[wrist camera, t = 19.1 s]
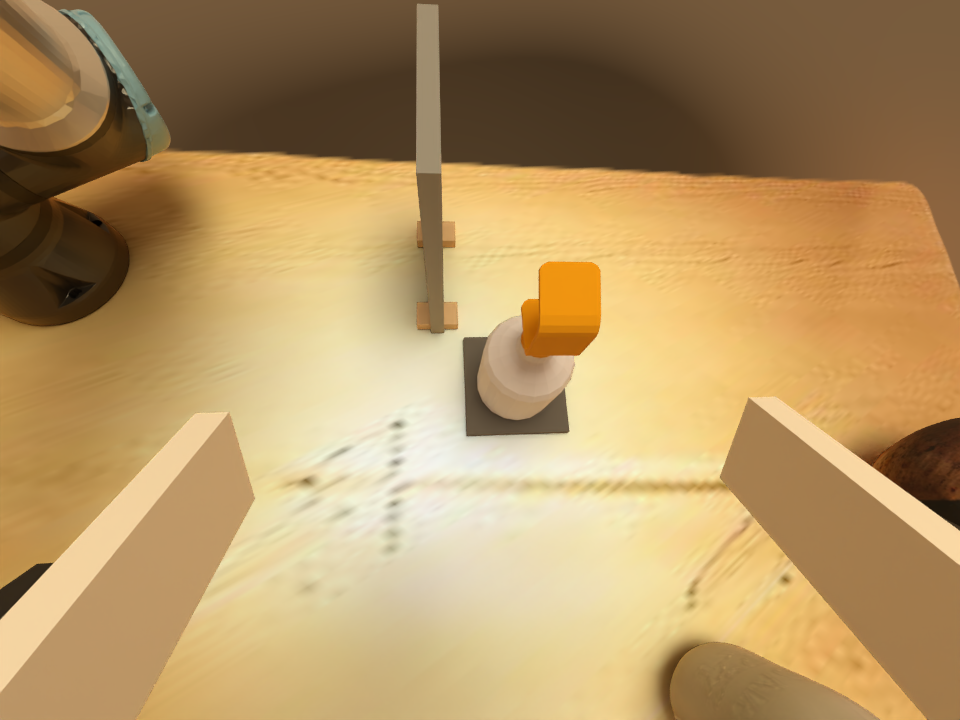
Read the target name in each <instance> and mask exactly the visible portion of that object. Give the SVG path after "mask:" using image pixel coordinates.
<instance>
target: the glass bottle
mask: <svg viewBox="0 0 960 720" xmlns="http://www.w3.org/2000/svg"><path fill="white" fill-rule="evenodd" d="M670 701H671V705H672V709H673V712H674V716H675V719H676V720H880V719H878V718H877V717H876V716H875V715H873V714H872V713H871V712H869V711H868V710H866V709H865V708H863V707H862V706H860V705H859V704H857V703H855V702H854V701H852V700H850V699H849V698H847V697H845V696H843V695H842V694H840V693H838V692H836V691H834V690H832V689H830V688H828V687H826V686H824V685H822V684H819V683H817V682H815V681H813V680H810V679H808V678H806V677H804V676H802V675H799V674H797V673H795V672H792V671H790V670H788V669H786V668H783V667H781V666H779V665H777V664H775V663H773V662H771V661H769V660H767V659H765V658H763V657H761V656H759V655H757V654H755V653H753V652H750V651H748V650H746V649H744V648H741V647H738V646H736V645H732V644H728V643H720V642H714V643H706V644H702V645H699V646H697V647H695V648H693V649H691V650H690V651H688V652H687V653H686V654H685V655H684V656H683V657H682V658H681V660H680V661H679V663H678V664H677V666H676V668H675V670H674V673H673V676H672V679H671V683H670Z"/></svg>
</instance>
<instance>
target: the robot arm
mask: <svg viewBox="0 0 960 720" xmlns="http://www.w3.org/2000/svg"><path fill="white" fill-rule="evenodd" d="M170 140H171V138H170V133H169V131H168V128H167V127H166V124H165V123H164V121H163V119H162V117H161V116H160V114H159V112H158V111H157V109H156V107H155V106H154V105H153V104H152V103H151V99H150V98H149V96H148V94H147V92H146V91H145V89H144V87H143V86H142V84H141V83H140V81H139V79H138V78H137V76H136V75H135V73H134V72H133V70H132V69H131V67H130V66H129V64H128V63H127V61H126V60H125V58H124V57H123V55H122V54H121V52H120V51H119V49H118V48H117V46H116V45H115V44H114V42H113V41H112V39H111V38H110V37H109V35H108V34H107V32H106V31H105V30H104V28H103V27H102V26H101V24H99V22H98V21H97V20H96V19H95V18H94V17H93V16H92V15H91V14H90V13H88V12H86V11H84V10H78V9H77V10H72V11H69V10H65V9H62V10H59V11H57V10H56V9H54V8H53V7H51V6H49V5H48V4H46V3H44V2H43V1H40V0H0V314H2V315H4V316H7V317H9V318H12V319H14V320H16V321H19V322H22V323H25V324H29V325H37V326H51V325H58V324H63V323H67V322H71V321H74V320H77V319H79V318H82V317H84V316H86V315H88V314H90V313H91V312H93V311H95V310H96V309H98V308H99V307H100V306H102V305H103V304H104V303H105V302H107V301H108V300H109V299H110V298H111V297H112V296H113V295H114V293H115V292H116V291H117V290H118V288H119V287H120V285H121V284H122V282H123V280H124V278H125V276H126V273H127V270H128V265H129V252H128V248H127V245H126V242H125V241H124V239H123V237H122V236H121V235H120V234H119V233H118V231H116V230H115V229H114V228H113V227H112V226H110V225H109V224H108V223H107V222H105V221H104V220H103V219H101V218H100V217H98V216H97V215H95V214H93V213H91V212H89V211H86V210H84V209H81V208H79V207H77V206H74V205H72V204H69V203H67V202H64V201H62V200H59V199H57V198H54V196H56V195H59V194H61V193H63V192H66V191H68V190H71V189H73V188H76V187H78V186H81V185H83V184H86V183H88V182H90V181H93V180H95V179H98V178H100V177H103V176H105V175H108V174H110V173H112V172H115V171H117V170H120V169H122V168H125V167H127V166H130V165H132V164H135V163H137V162H144V161H148V160H150V159H151V157H152V156H153V155H155V154H157V153H159V152H161V151H163V150H165V149H166V148H168V146H169V144H170ZM720 479H721V480H722V481H723V482H724V483H725V484H726V486H727V487H728V488H729V489H730V490H731V491H732V493H733V494H734V495H735V496H736V497H737V498H738V499H739V501H740V502H741V503H742V504H743V505H744V506H745V508H746V509H747V510H748V511H749V512H750V513H751V515H752V516H753V517H754V518H755V519H756V520H757V522H758V523H759V524H760V525H761V526H762V527H763V529H764V530H765V531H766V532H767V533H768V534H769V536H770V537H771V538H772V539H773V540H774V541H775V543H776V544H777V545H778V546H779V547H780V548H781V550H782V551H783V552H784V553H785V554H786V555H787V557H788V558H789V559H790V560H791V561H792V562H793V564H794V565H795V566H796V567H797V568H798V569H799V571H800V572H801V573H802V574H803V575H804V576H805V578H806V579H807V580H808V581H809V582H810V583H811V585H812V586H813V587H814V588H815V589H816V590H817V592H818V593H819V594H820V595H821V596H822V597H823V598H824V600H825V601H826V602H827V603H828V604H829V605H830V607H831V608H832V609H833V610H834V611H835V612H836V614H837V615H838V616H839V617H840V618H841V619H842V621H843V622H844V623H845V624H846V625H847V626H848V628H849V629H850V630H851V631H852V632H853V633H854V635H855V636H856V637H857V638H858V639H859V640H860V642H861V643H862V644H863V645H864V646H865V647H866V649H867V650H868V651H869V652H870V653H871V654H872V656H873V657H874V658H875V659H876V660H877V661H878V663H879V664H880V665H881V666H882V667H883V668H884V670H885V671H886V672H887V673H888V674H889V675H890V677H891V678H892V679H893V680H894V681H895V682H896V684H897V685H898V686H899V687H900V688H901V689H902V691H903V692H904V693H905V694H906V695H907V696H908V698H909V699H910V700H911V701H912V702H913V703H914V704H915V706H916V707H917V708H918V709H919V710H920V711H921V713H922V714H923V715H924V716H925V717H926V718H927V720H960V526H958V525H956V524H954V523H952V522H950V521H948V520H947V519H945V518H943V517H941V516H939V515H937V514H936V513H935V512H933V511H932V510H931V509H929V508H928V507H926V506H925V505H924V504H922V503H921V502H920V501H918V500H917V499H915V498H914V497H913V496H911V495H910V494H909V493H907V492H906V491H904V490H903V489H902V488H900V487H899V486H898V485H896V484H895V483H893V482H892V481H891V480H889V479H888V478H887V477H885V476H884V475H883V474H881V473H880V472H878V471H877V470H876V469H874V468H873V467H872V466H870V465H869V464H867V463H866V462H865V461H863V460H862V459H861V458H859V457H858V456H856V455H855V454H854V453H852V452H851V451H850V450H848V449H847V448H845V447H844V446H843V445H841V444H840V443H839V442H837V441H836V440H834V439H833V438H832V437H830V436H829V435H828V434H826V433H825V432H823V431H822V430H821V429H819V428H818V427H817V426H815V425H814V424H813V423H811V422H810V421H808V420H807V419H806V418H804V417H803V416H802V415H800V414H799V413H797V412H796V411H795V410H793V409H792V408H791V407H789V406H788V405H786V404H785V403H784V402H782V401H781V400H780V399H778V398H777V397H749V398H748V401H747V404H746V406H745V409H744V412H743V415H742V417H741V420H740V423H739V426H738V428H737V431H736V434H735V437H734V439H733V442H732V445H731V448H730V450H729V453H728V456H727V459H726V461H725V464H724V467H723V470H722V472H721V475H720ZM254 499H255V497H254V494H253V490H252V487H251V484H250V480H249V477H248V474H247V470H246V467H245V463H244V460H243V457H242V453H241V450H240V446H239V443H238V440H237V436H236V433H235V430H234V426H233V423H232V419H231V416H230V413H229V412H211V413H195V414H194V415H193V416H192V417H191V418H190V419H189V420H188V421H187V422H186V423H185V424H184V425H183V427H182V428H181V429H180V430H179V431H178V432H177V433H176V434H175V435H174V436H173V437H172V438H171V439H170V440H169V441H168V442H167V444H166V445H165V446H164V447H163V448H162V449H161V450H160V451H159V452H158V453H157V454H156V455H155V456H154V457H153V458H152V459H151V460H150V462H149V463H148V464H147V465H146V466H145V467H144V468H143V469H142V470H141V471H140V472H139V473H138V474H137V475H136V476H135V477H134V479H133V480H132V481H131V482H130V483H129V484H128V485H127V486H126V487H125V488H124V489H123V490H122V491H121V492H120V493H119V494H118V495H117V497H116V498H115V499H114V500H113V501H112V502H111V503H110V504H109V505H108V506H107V507H106V508H105V509H104V510H103V511H102V512H101V514H100V515H99V516H98V517H97V518H96V519H95V520H94V521H93V522H92V523H91V524H90V525H89V526H88V527H87V528H86V529H85V530H84V532H83V533H82V534H81V535H80V536H79V537H78V538H77V539H76V540H75V541H74V542H73V543H72V544H71V545H70V546H69V547H68V549H67V550H66V551H65V552H64V553H63V554H62V555H61V556H60V557H59V558H58V559H57V560H56V561H55V562H54V563H45V564H36V565H35V566H33V567H32V568H30V569H29V570H28V571H26V572H25V573H23V574H22V575H20V576H19V577H18V578H16V579H15V580H13V581H12V582H10V583H9V584H7V585H6V586H5V587H3V588H2V589H0V720H136V719H137V717H138V715H139V713H140V711H141V709H142V708H143V706H144V704H145V702H146V700H147V698H148V696H149V695H150V693H151V691H152V689H153V687H154V685H155V683H156V682H157V680H158V678H159V676H160V674H161V672H162V670H163V669H164V667H165V665H166V663H167V661H168V659H169V657H170V656H171V654H172V652H173V650H174V648H175V646H176V644H177V642H178V641H179V639H180V637H181V635H182V633H183V631H184V629H185V628H186V626H187V624H188V622H189V620H190V618H191V616H192V615H193V613H194V611H195V609H196V607H197V605H198V603H199V602H200V600H201V598H202V596H203V594H204V592H205V590H206V589H207V587H208V585H209V583H210V581H211V579H212V577H213V575H214V574H215V572H216V570H217V568H218V566H219V564H220V562H221V561H222V559H223V557H224V555H225V553H226V551H227V549H228V548H229V546H230V544H231V542H232V540H233V538H234V536H235V535H236V533H237V531H238V529H239V527H240V525H241V523H242V522H243V520H244V518H245V516H246V514H247V512H248V510H249V509H250V507H251V505H252V503H253V501H254Z"/></svg>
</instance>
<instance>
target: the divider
mask: <svg viewBox="0 0 960 720" xmlns="http://www.w3.org/2000/svg"><path fill="white" fill-rule="evenodd" d="M439 83H440V77H439V24H438V5H429V4H417V117H416V122H417V123H416V124H417V125H416V133H417V134H416V176H417V186H418V197H419V208H420V218H421V221H417V243H418V247H423V250H424V260H425V271H426V281H427V292H428V302H417V328H418V329H431V333H444V329H458V312H457V302H444V295H443V247H455V222H442V184H441V131H440V84H439Z"/></svg>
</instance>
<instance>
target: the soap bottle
mask: <svg viewBox="0 0 960 720" xmlns="http://www.w3.org/2000/svg"><path fill="white" fill-rule="evenodd" d="M521 312H522V316H516V317H512V318H510V319H508V320H506V321H504V322H503V323H501V324H499V325H498V326H497V327H496V328H495V329H494V330H493V331H492V333H491V334H490V335H489V336H488V339H487V342H486V345H485V348H484V351H483V355H482V359H481V363H480V367H479V371H478V375H477V386H478V391H479V394H480V396H481V399H482V401H483V403H484V404H485V405H486V406H487V407H488V408H489V409H490V410H491V411H492V412H493V413H495V414H497V415H499V416H501V417H502V418H506V419H512V420H521V419H527V418H531V417H532V416H534V415H536V414H537V413H539V412H540V411H542V410H543V409H544V408H545V407H546V406H547V405H548V404H549V403H550V402H551V401H552V400H553V399H555V398H556V397H557V396H558V395H559V394H560V393H561V392H562V391H563V389H564V388H565V387H566V385H567V384H568V383H569V381H570V380H571V377H572V373H573V369H574V366H575V363H574V356H578V355H580V354H581V353H582V352H583V351H584V350H585V348H586V347H587V346H588V345H589V344H590V343H591V342H592V341H593V340H594V339H595V338H596V336H597V334H598V332H599V328H600V320H601V280H600V269H599V267H598V266H597V265H596V264H594V263H592V262H547V263H545V264H543V265H542V266H541V268H540V269H539V299H528V300H526V301H525V302H524V303H523V305H522V307H521Z"/></svg>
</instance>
